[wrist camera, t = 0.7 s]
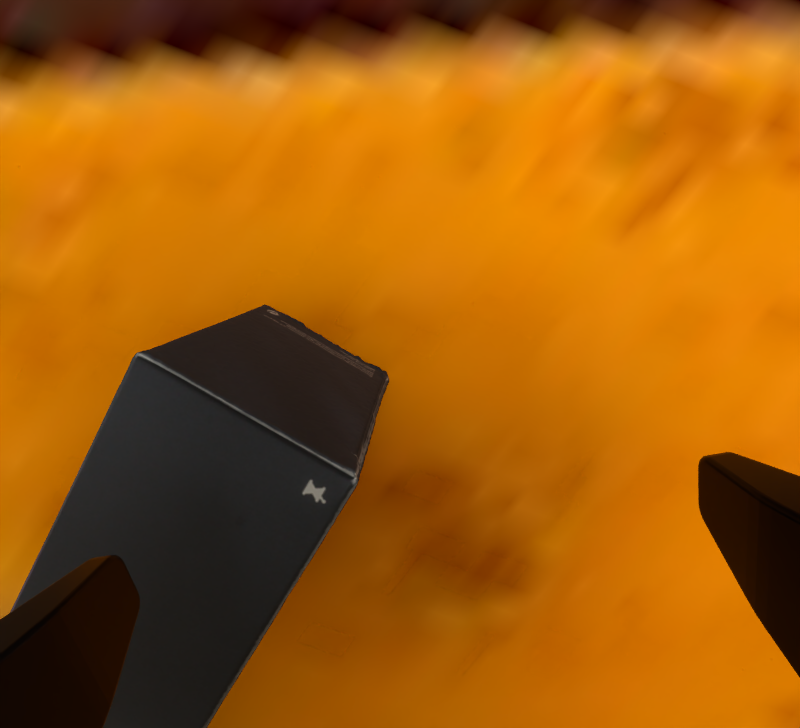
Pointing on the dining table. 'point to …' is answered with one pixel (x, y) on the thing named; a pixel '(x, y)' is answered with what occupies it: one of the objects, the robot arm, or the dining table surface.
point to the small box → (213, 499)
